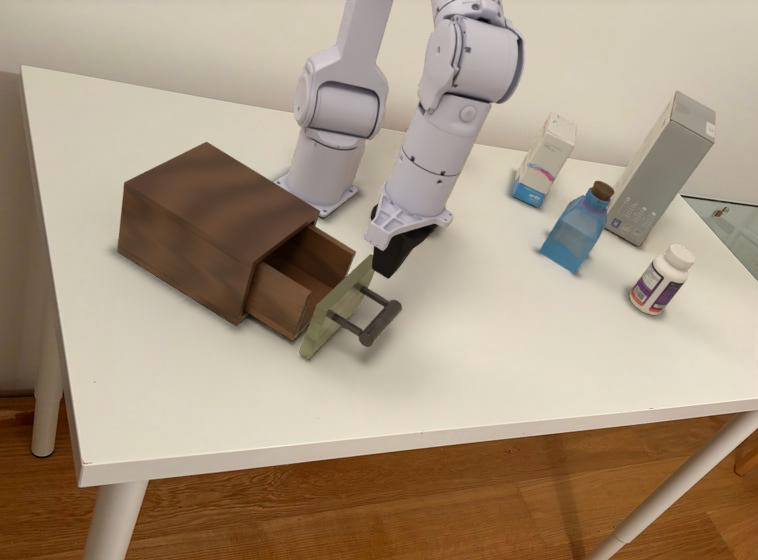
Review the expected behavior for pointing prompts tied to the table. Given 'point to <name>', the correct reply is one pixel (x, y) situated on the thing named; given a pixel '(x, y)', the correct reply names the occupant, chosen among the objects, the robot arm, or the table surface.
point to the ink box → (545, 159)
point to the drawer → (315, 291)
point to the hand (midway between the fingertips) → (382, 271)
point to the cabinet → (207, 225)
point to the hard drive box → (660, 167)
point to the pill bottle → (662, 280)
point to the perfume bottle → (579, 228)
